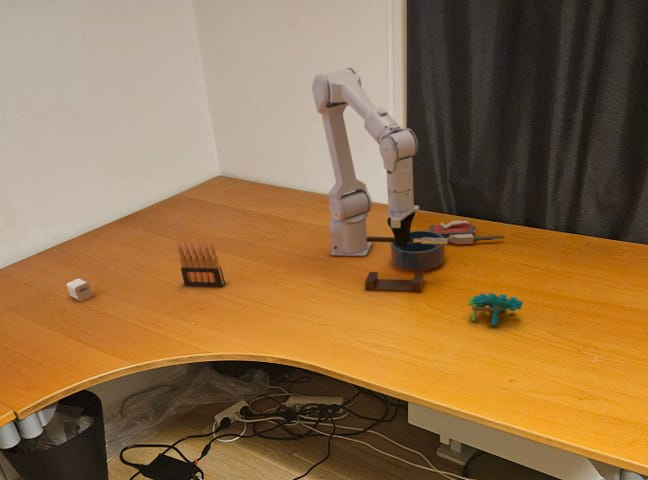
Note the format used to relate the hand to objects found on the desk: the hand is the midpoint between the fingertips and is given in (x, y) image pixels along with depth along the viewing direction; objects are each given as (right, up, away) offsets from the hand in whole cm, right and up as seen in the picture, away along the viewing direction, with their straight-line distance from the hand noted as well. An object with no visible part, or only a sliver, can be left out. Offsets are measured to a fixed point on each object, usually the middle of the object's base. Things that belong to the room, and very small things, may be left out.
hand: (402, 244), depth 144 cm
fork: (+1, +1, -1) cm, 2 cm away
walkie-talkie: (+18, +5, +20) cm, 27 cm away
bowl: (+5, -2, +11) cm, 13 cm away
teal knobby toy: (+18, -18, -14) cm, 29 cm away
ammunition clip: (-49, -8, +13) cm, 51 cm away
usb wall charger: (-82, -10, +15) cm, 84 cm away
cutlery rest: (-2, -9, +2) cm, 10 cm away
